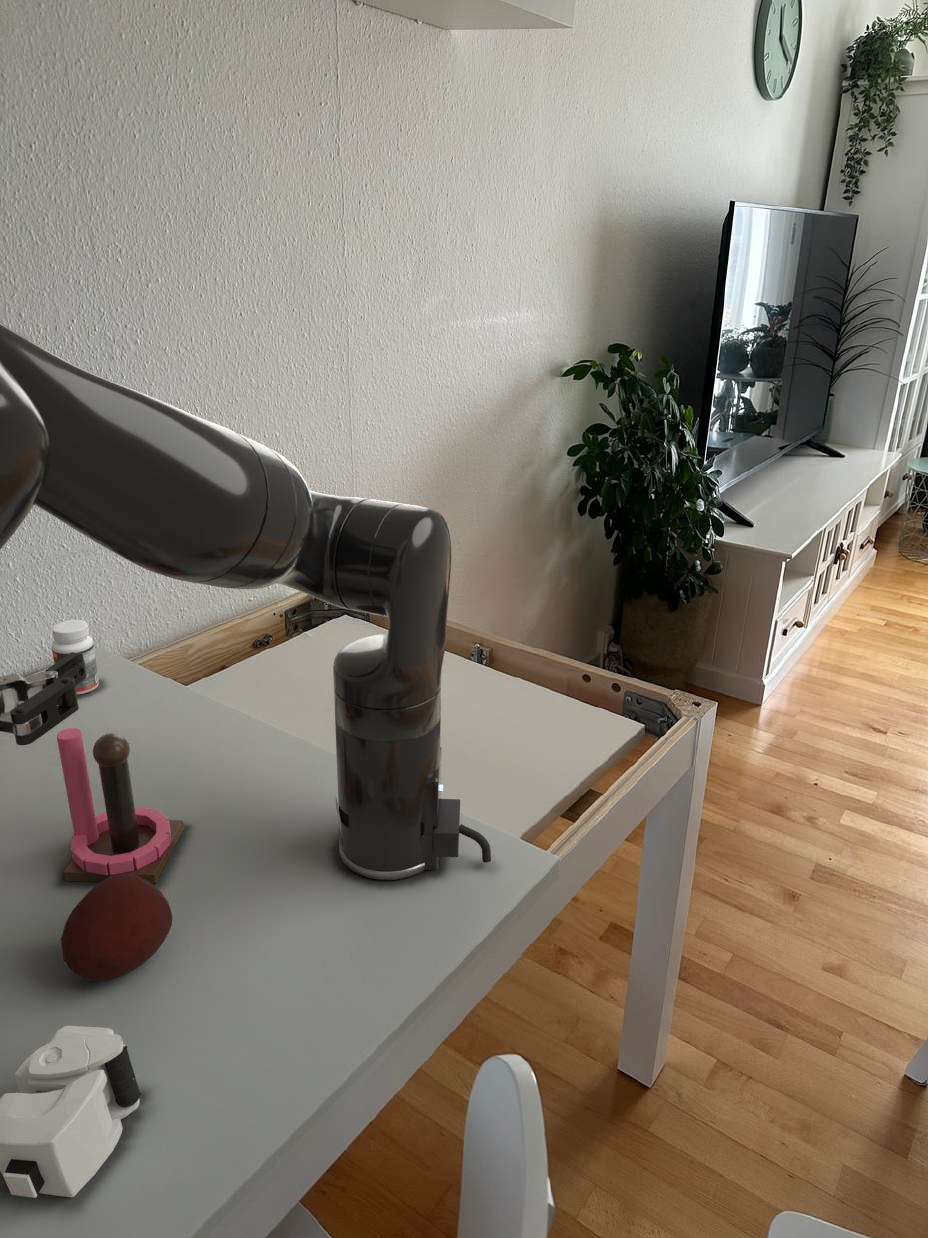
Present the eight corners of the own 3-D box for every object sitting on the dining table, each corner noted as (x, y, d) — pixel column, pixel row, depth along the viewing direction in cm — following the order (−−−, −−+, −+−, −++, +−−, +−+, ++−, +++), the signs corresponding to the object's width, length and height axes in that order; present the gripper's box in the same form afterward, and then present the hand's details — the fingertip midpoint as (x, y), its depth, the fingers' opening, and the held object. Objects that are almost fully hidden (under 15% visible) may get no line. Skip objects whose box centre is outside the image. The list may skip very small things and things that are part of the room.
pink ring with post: (187, 824, 85) (174, 720, 80) (140, 881, 77) (124, 770, 73) (103, 811, 86) (86, 709, 82) (49, 866, 79) (27, 757, 74)
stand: (184, 828, 86) (170, 714, 81) (155, 884, 78) (138, 762, 74) (101, 826, 86) (82, 711, 81) (65, 881, 79) (41, 759, 74)
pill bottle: (50, 691, 111) (39, 629, 107) (78, 675, 115) (68, 615, 111) (80, 699, 109) (69, 636, 106) (107, 683, 113) (98, 622, 110)
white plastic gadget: (158, 1067, 61) (90, 1222, 52) (65, 1060, 61) (-18, 1213, 52) (141, 1007, 58) (66, 1160, 49) (44, 1001, 59) (-47, 1151, 50)
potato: (62, 992, 69) (22, 921, 67) (147, 917, 75) (112, 850, 73) (118, 1012, 65) (76, 937, 62) (203, 931, 71) (168, 860, 69)
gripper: (-43, 724, 54) (106, 623, 69) (-240, 698, 57) (-55, 605, 72) (-20, 827, 57) (119, 708, 72) (-208, 797, 60) (-37, 689, 75)
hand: (32, 657), depth 72 cm, fingers open, 8 cm apart
